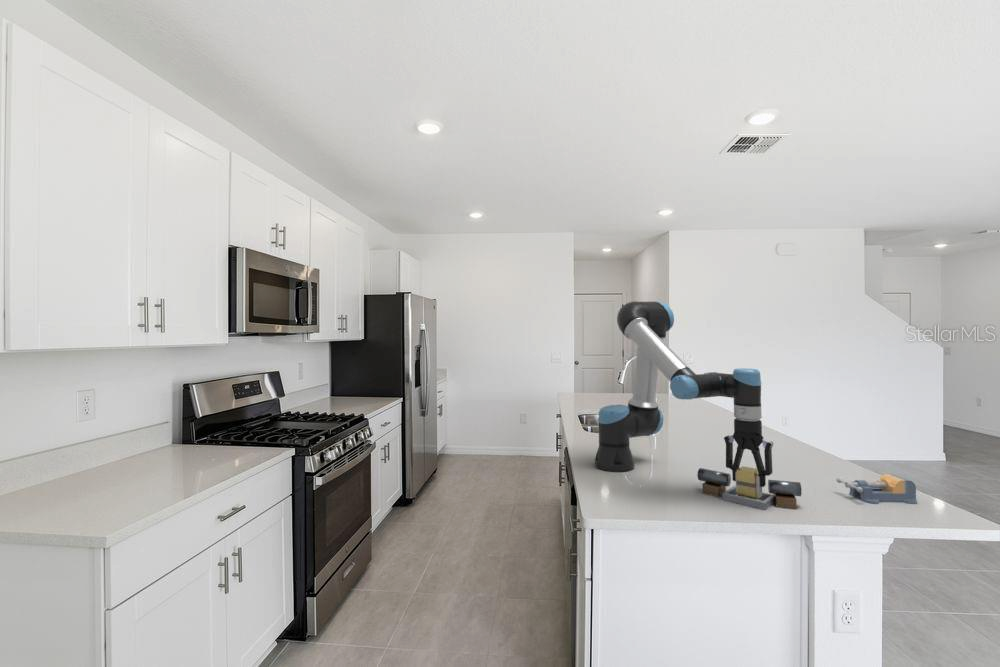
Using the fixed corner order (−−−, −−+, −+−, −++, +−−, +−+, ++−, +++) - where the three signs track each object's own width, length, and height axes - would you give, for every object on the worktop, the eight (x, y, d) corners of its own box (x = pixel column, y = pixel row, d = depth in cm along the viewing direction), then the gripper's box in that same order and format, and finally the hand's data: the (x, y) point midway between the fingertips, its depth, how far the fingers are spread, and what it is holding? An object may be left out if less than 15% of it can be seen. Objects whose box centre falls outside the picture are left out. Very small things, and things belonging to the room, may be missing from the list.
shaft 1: (696, 491, 151) (696, 470, 151) (704, 487, 155) (703, 466, 155) (724, 498, 145) (724, 475, 145) (732, 493, 149) (731, 471, 149)
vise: (894, 493, 147) (893, 472, 147) (921, 505, 137) (921, 482, 137) (835, 492, 148) (835, 472, 148) (858, 504, 138) (858, 482, 138)
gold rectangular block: (737, 495, 142) (736, 469, 142) (743, 491, 146) (742, 466, 146) (755, 499, 139) (754, 472, 139) (761, 495, 142) (760, 469, 142)
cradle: (722, 499, 143) (722, 493, 143) (734, 492, 150) (734, 486, 150) (765, 510, 135) (765, 503, 135) (775, 501, 141) (775, 495, 141)
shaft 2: (771, 506, 137) (770, 482, 137) (767, 499, 143) (767, 476, 143) (802, 509, 134) (802, 485, 134) (797, 502, 140) (797, 479, 140)
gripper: (712, 417, 146) (713, 490, 146) (776, 424, 133) (778, 505, 133) (721, 413, 152) (723, 484, 152) (784, 420, 138) (786, 498, 138)
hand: (748, 494), depth 142 cm, fingers closed on gold rectangular block, 5 cm apart
